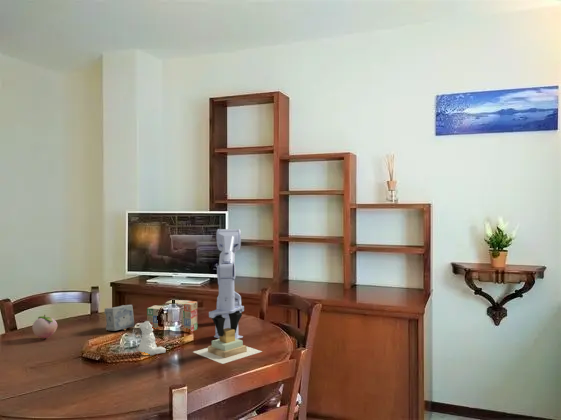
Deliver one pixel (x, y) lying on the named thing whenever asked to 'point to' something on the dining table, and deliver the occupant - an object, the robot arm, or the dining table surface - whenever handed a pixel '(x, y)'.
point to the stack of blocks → (188, 314)
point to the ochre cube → (227, 335)
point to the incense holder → (119, 317)
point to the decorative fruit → (44, 327)
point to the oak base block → (227, 353)
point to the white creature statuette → (149, 340)
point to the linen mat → (224, 360)
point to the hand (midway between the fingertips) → (227, 334)
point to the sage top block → (227, 344)
